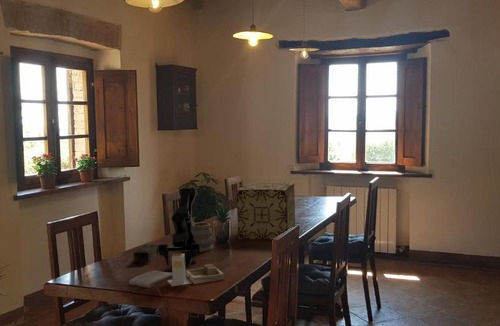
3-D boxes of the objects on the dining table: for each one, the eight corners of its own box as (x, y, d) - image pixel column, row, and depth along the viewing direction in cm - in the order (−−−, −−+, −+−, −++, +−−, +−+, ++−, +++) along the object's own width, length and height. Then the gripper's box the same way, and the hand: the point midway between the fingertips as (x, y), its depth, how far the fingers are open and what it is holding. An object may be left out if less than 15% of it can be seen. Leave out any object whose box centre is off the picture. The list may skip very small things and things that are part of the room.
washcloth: (174, 277, 236) (174, 271, 236) (149, 289, 220) (149, 282, 220) (154, 274, 241) (154, 268, 241) (128, 286, 226) (128, 279, 225)
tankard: (217, 249, 284) (216, 222, 283) (196, 252, 278) (195, 225, 276) (201, 242, 301) (200, 217, 300) (181, 245, 295) (180, 220, 293)
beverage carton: (159, 255, 276) (158, 243, 275) (148, 265, 257) (147, 252, 256) (144, 255, 277) (144, 243, 276) (133, 265, 258) (132, 252, 257)
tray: (185, 276, 235) (185, 270, 235) (214, 272, 241) (214, 266, 240) (194, 285, 222) (193, 278, 222) (224, 280, 228) (224, 274, 227)
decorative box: (238, 239, 307) (236, 189, 305) (250, 228, 336) (248, 183, 334) (287, 240, 300) (286, 189, 298) (295, 229, 329) (294, 183, 327)
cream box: (174, 280, 229) (173, 253, 228) (185, 279, 229) (184, 253, 228) (172, 283, 223) (171, 256, 222) (184, 283, 223) (183, 256, 222)
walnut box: (204, 273, 237) (203, 264, 237) (212, 272, 239) (212, 263, 239) (208, 277, 231) (208, 268, 231) (217, 276, 232) (216, 267, 232)
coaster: (167, 281, 229) (167, 280, 229) (186, 278, 232) (186, 277, 232) (171, 287, 220) (171, 286, 220) (192, 284, 224) (191, 283, 224)
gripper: (157, 226, 228) (154, 257, 218) (199, 225, 228) (197, 256, 218) (161, 239, 237) (158, 270, 226) (201, 238, 236) (200, 268, 226)
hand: (178, 266), depth 224 cm, fingers open, 9 cm apart
